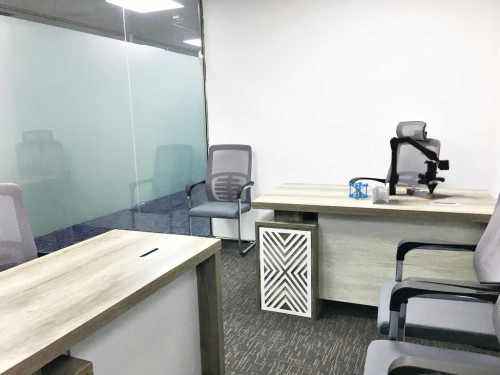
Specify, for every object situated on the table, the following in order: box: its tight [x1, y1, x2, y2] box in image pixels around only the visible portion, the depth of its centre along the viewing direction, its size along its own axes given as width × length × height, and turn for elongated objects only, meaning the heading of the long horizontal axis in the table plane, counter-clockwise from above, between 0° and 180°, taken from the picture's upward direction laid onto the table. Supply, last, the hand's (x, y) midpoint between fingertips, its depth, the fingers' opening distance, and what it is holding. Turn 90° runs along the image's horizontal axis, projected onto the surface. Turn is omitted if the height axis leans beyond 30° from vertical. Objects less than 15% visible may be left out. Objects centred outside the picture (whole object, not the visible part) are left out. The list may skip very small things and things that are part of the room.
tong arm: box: [415, 190, 437, 198], centre depth 269 cm, size 14×2×2 cm, turn 31°
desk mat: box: [404, 190, 455, 201], centre depth 273 cm, size 20×25×1 cm
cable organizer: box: [370, 182, 390, 204], centre depth 259 cm, size 15×11×12 cm
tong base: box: [405, 187, 432, 200], centre depth 270 cm, size 20×6×5 cm, turn 25°
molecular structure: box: [348, 181, 369, 200], centre depth 276 cm, size 10×10×10 cm
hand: (431, 193), depth 270 cm, fingers closed
